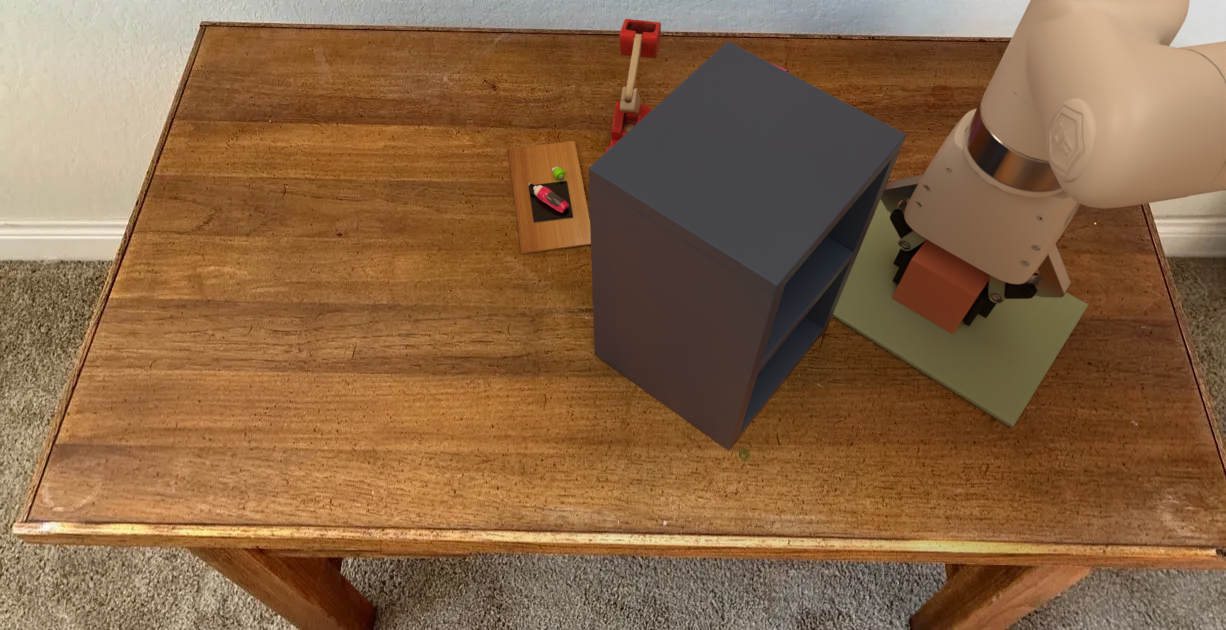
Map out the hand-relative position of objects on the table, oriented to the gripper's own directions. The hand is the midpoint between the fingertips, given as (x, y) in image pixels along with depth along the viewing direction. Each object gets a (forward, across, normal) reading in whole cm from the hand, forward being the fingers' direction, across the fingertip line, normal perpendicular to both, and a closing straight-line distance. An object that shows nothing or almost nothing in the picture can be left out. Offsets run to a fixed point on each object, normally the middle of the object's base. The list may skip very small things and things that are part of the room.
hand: (939, 291), depth 71 cm
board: (+1, +32, +12) cm, 34 cm away
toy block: (0, 0, 0) cm, 0 cm away
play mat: (+1, 0, 0) cm, 1 cm away
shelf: (+1, +12, +15) cm, 19 cm away
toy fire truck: (+1, +30, +3) cm, 30 cm away
